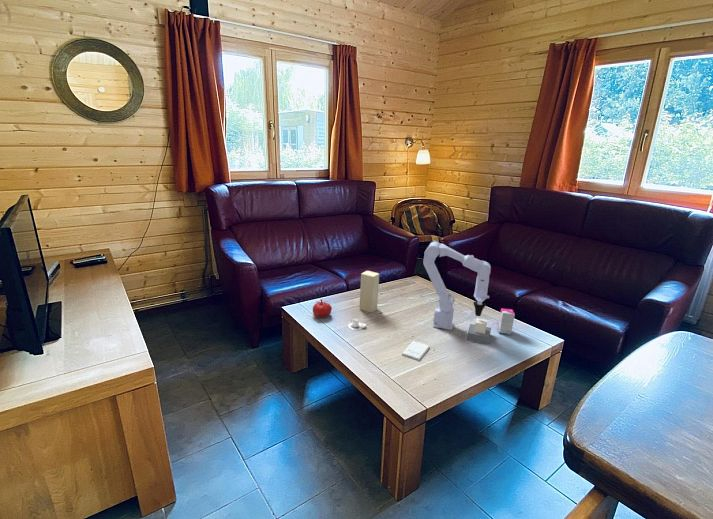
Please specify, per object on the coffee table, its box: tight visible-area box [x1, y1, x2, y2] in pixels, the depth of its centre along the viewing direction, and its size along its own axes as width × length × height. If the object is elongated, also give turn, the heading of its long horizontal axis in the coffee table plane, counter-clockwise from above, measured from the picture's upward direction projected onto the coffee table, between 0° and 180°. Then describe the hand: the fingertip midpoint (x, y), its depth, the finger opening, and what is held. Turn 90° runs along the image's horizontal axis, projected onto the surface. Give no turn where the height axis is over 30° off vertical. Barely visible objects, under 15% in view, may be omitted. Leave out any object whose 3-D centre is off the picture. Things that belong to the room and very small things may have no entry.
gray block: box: [466, 323, 492, 345], centre depth 185 cm, size 10×10×4 cm
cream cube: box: [474, 317, 488, 334], centre depth 183 cm, size 5×5×5 cm
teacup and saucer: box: [347, 318, 367, 331], centre depth 191 cm, size 9×8×4 cm
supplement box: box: [497, 308, 516, 336], centre depth 189 cm, size 6×6×12 cm
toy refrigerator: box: [359, 270, 380, 313], centre depth 209 cm, size 8×7×21 cm
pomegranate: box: [312, 298, 333, 319], centre depth 201 cm, size 10×10×9 cm
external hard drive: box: [401, 340, 431, 361], centre depth 171 cm, size 2×8×12 cm
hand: (478, 312), depth 187 cm, fingers open, 7 cm apart
